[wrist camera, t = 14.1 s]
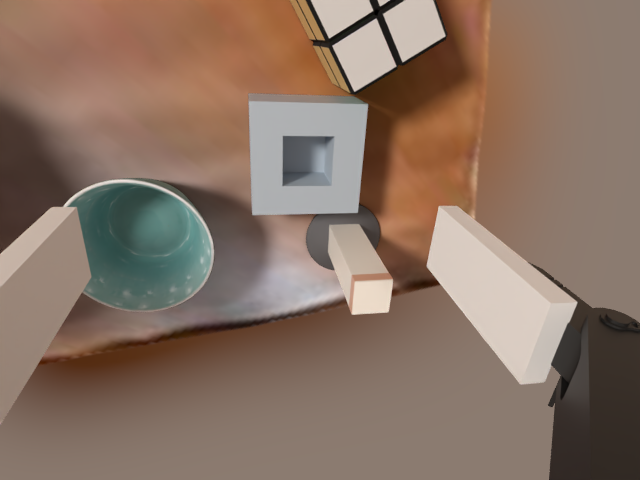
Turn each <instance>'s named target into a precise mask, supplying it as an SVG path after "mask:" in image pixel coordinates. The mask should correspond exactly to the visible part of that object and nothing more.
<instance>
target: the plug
mask: <svg viewBox="0 0 640 480" xmlns="http://www.w3.org/2000/svg"><path fill="white" fill-rule="evenodd" d="M328 253H329V256H330V259H331V261H332V264H333V266H334V269H335V272H336V274H337V277H338V279H339V282H340V285H341V287H342V290H343V292H344V295H345V298H346V300H347V303H348V305H349V309H350V311H351V314H352V315H354V314H368V313H383V312H389V306H390V299H391V292H392V285H393V278H392V277H391V275H390V274H389V272H388V271H387V269H386V267H385V266H384V264H383V262H382V261H381V259H380V258H379V256H378V254H377V253H376V251H375V249H374V248H373V246H372V244H371V243H370V241H369V239H368V238H367V236H366V234H365V233H364V231H363V229H362V228H361V226H360V225H359V224H343V225H329V242H328Z"/></svg>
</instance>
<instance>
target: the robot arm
mask: <svg viewBox="0 0 640 480" xmlns="http://www.w3.org/2000/svg"><path fill="white" fill-rule="evenodd" d="M427 268H428V269H429V270H430V272H431V273H432V274H433V275H434V277H435V278H436V279H437V280H438V282H439V283H440V284H441V285H442V287H443V288H444V289H445V290H446V291H447V293H448V294H449V295H450V297H451V298H452V299H453V300H454V302H455V303H456V304H457V305H458V307H459V308H460V309H461V310H462V312H463V313H464V314H465V315H466V317H467V318H468V319H469V320H470V321H471V323H472V324H473V325H474V327H475V328H476V329H477V330H478V332H479V333H480V334H481V335H482V337H483V338H484V339H485V340H486V342H487V343H488V344H489V345H490V347H491V348H492V349H493V350H494V352H495V353H496V354H497V356H498V357H499V358H500V359H501V361H502V362H503V363H504V364H505V366H506V367H507V368H508V369H509V371H510V372H511V373H512V374H513V376H514V377H515V378H516V379H517V381H518V382H519V383H520V384H532V383H542V382H545V380H546V378H547V375H548V373H549V370H550V368H551V366H553V367H554V368H555V369H556V370H557V371H558V372H559V374H560V375H561V376H560V379H559V381H558V383H557V386H556V388H555V390H554V393H553V395H552V398H551V399H550V402H549V404H548V406H550V407H553V405H554V403H555V411H554V424H553V437H552V449H551V461H550V475H549V480H640V323H639V322H637V321H636V320H635V319H632V318H631V317H629V316H628V315H626V314H623V313H620V312H618V311H615V310H611V309H606V308H592V307H590V306H589V305H588V304H586V303H585V302H584V301H583V300H581V299H580V298H579V297H577V296H576V295H575V294H573V293H572V292H571V291H570V290H568V289H567V288H566V287H563V285H562V284H560V282H558V281H557V280H554V278H553V277H552V276H551V275H549V274H548V273H547V272H545V271H544V270H543V269H541V268H539V267H537V266H535V265H533V264H531V263H529V262H527V261H525V260H524V259H523V258H522V257H520V256H519V255H518V254H517V253H515V252H514V251H513V250H512V249H510V248H509V247H508V246H506V245H505V244H504V243H503V242H502V241H500V240H499V239H497V238H496V237H495V236H494V235H493V234H491V233H490V232H489V231H488V230H486V229H485V228H484V227H483V226H481V225H480V224H479V223H478V222H476V221H475V220H474V219H473V218H471V217H470V216H469V215H468V214H466V213H465V212H464V211H463V210H461V209H460V208H459V207H458V206H439V209H438V214H437V218H436V223H435V228H434V233H433V238H432V243H431V247H430V252H429V257H428V262H427ZM90 279H91V272H90V268H89V263H88V258H87V254H86V249H85V244H84V239H83V235H82V230H81V225H80V220H79V216H78V211H77V207H51V208H50V209H49V210H48V211H47V212H46V213H45V214H43V215H42V216H41V217H40V218H39V219H38V220H37V221H36V222H35V223H34V224H32V225H31V226H30V227H29V228H28V229H27V230H26V231H25V232H24V233H23V234H22V235H20V236H19V237H18V238H17V239H16V240H15V241H14V242H13V243H12V244H11V245H10V246H8V247H7V248H6V249H5V250H4V251H3V252H2V253H1V254H0V425H1V423H2V421H3V420H4V418H5V417H6V415H7V413H8V412H9V410H10V409H11V407H12V405H13V404H14V402H15V400H16V399H17V397H18V395H19V394H20V392H21V391H22V389H23V387H24V386H25V384H26V383H27V381H28V379H29V378H30V376H31V374H32V373H33V371H34V370H35V368H36V366H37V365H38V363H39V361H40V360H41V358H42V357H43V355H44V353H45V352H46V350H47V348H48V347H49V345H50V344H51V342H52V340H53V339H54V337H55V335H56V334H57V332H58V331H59V329H60V327H61V326H62V324H63V322H64V321H65V319H66V318H67V316H68V314H69V313H70V311H71V309H72V308H73V306H74V305H75V303H76V301H77V300H78V298H79V296H80V295H81V293H82V292H83V290H84V288H85V287H86V285H87V283H88V282H89V280H90Z"/></svg>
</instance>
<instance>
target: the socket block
mask: <svg viewBox="0 0 640 480" xmlns="http://www.w3.org/2000/svg"><path fill="white" fill-rule="evenodd" d="M248 97H249V131H250V165H251V198H252V215H282V214H330V213H358V207H359V196H360V185H361V175H362V164H363V154H364V143H365V133H366V122H367V112H368V104H367V103H365V102H363V101H362V100H360V99H358V98H356V97H355V96H324V95H289V94H253V93H248Z"/></svg>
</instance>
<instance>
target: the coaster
mask: <svg viewBox="0 0 640 480" xmlns="http://www.w3.org/2000/svg"><path fill="white" fill-rule="evenodd" d="M343 224H359V225H360V226H361V228H362V229H363V231H364V233H365V234H366V236H367V238H368V239H369V241H370V243H371V244H372V246H373V248H374V249H376V247H377V245H378V242H379V238H380V229H379V225H378V222H377V220H376V218H375V216H374V215H373V214H372V213H371V212H370V211H369V210H368V209H367V208H365V207H364V206H362V205H359V207H358V213H330V214H317V215H316V216H315V217H314V219H313V220H312V221H311V223H310V225H309V227H308V230H307V235H306V243H307V248H308V251H309V253H310V255H311V257H312V258H313V259H314V260H315V261H316V262H317V263H318V264H319V265H321V266H323V267H325V268H327V269H331V270H335V269H334V266H333V264H332V261H331V259H330V256H329V253H328V242H329V225H343Z"/></svg>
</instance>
